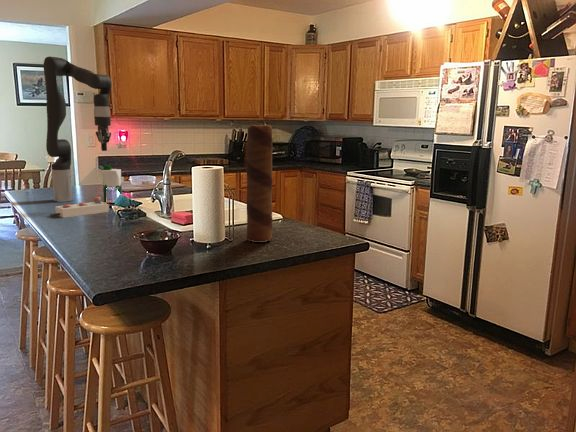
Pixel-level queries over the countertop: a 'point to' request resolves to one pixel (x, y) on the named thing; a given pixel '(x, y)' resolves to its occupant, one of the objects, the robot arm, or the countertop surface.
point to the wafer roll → (259, 182)
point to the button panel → (81, 209)
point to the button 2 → (82, 204)
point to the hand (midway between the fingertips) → (104, 150)
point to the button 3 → (97, 199)
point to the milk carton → (111, 179)
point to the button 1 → (66, 206)
